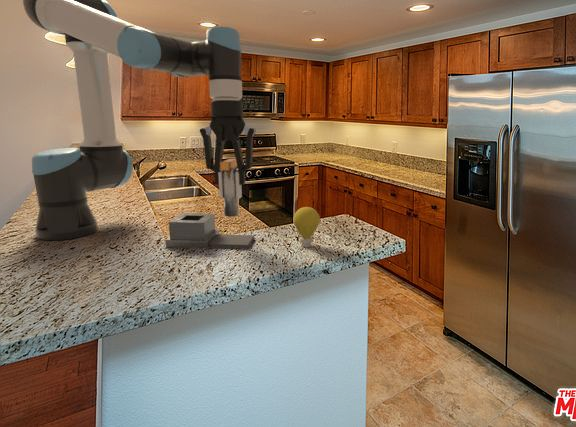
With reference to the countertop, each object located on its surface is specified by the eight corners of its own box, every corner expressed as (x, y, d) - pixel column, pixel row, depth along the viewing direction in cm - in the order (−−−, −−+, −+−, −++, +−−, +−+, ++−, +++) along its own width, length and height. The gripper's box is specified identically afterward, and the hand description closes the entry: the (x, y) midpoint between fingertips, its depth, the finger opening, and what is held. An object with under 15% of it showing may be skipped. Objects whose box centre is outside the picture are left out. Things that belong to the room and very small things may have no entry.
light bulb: (303, 251, 89) (303, 211, 86) (288, 244, 94) (288, 206, 92) (324, 246, 92) (325, 208, 90) (309, 239, 98) (309, 203, 95)
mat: (208, 247, 92) (208, 243, 91) (217, 237, 99) (217, 234, 99) (248, 248, 91) (247, 245, 90) (254, 238, 98) (254, 235, 98)
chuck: (166, 247, 92) (163, 222, 90) (181, 235, 102) (179, 212, 100) (208, 248, 91) (207, 223, 89) (219, 236, 101) (218, 213, 99)
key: (234, 219, 89) (231, 162, 85) (219, 219, 89) (216, 162, 86) (242, 210, 97) (240, 158, 94) (229, 210, 98) (226, 158, 94)
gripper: (263, 100, 89) (265, 195, 95) (197, 101, 91) (203, 194, 96) (258, 98, 82) (260, 201, 88) (186, 99, 84) (193, 200, 89)
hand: (230, 197), depth 92 cm, fingers closed on key, 4 cm apart
